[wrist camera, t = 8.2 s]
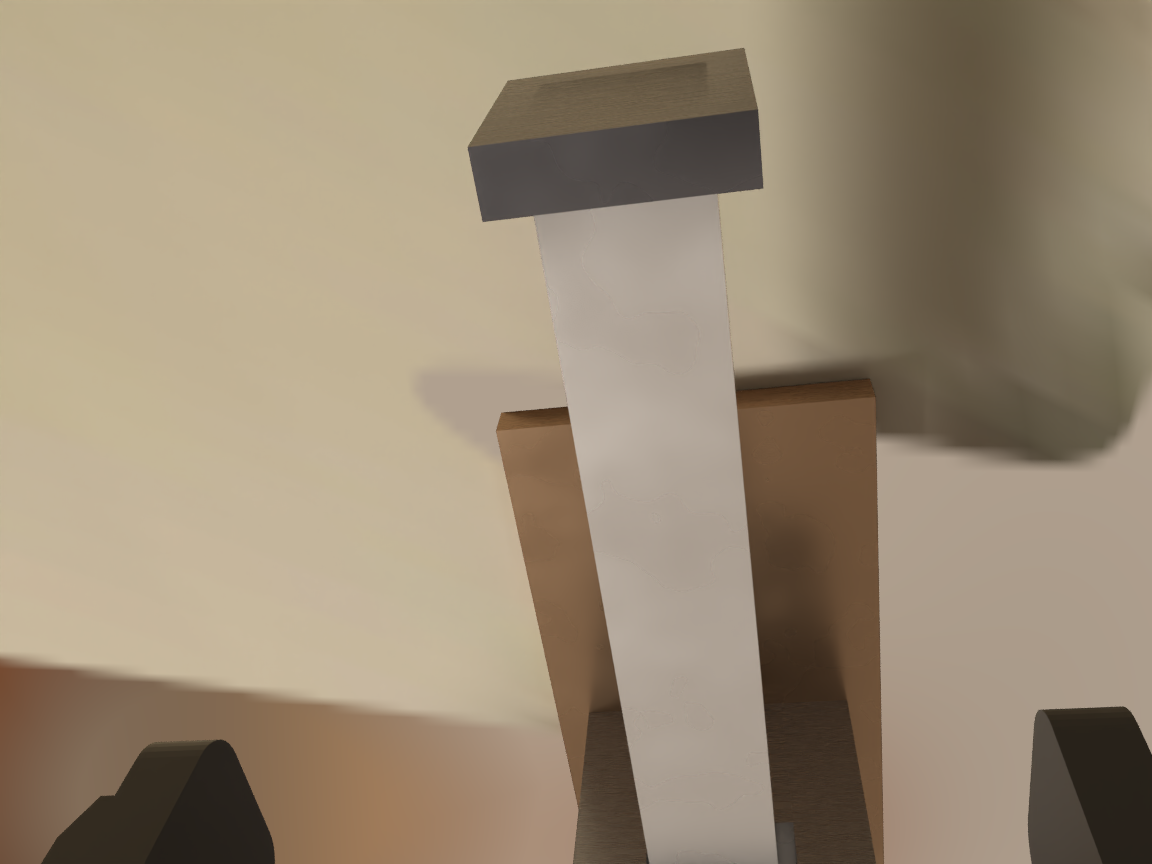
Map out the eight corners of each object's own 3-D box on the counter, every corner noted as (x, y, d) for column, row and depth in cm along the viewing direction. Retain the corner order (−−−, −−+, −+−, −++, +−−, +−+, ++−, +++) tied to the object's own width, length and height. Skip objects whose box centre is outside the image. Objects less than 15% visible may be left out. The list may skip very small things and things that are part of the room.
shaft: (743, 48, 20) (757, 109, 16) (806, 900, 32) (822, 1050, 28) (508, 81, 20) (467, 147, 17) (655, 903, 32) (651, 1051, 28)
